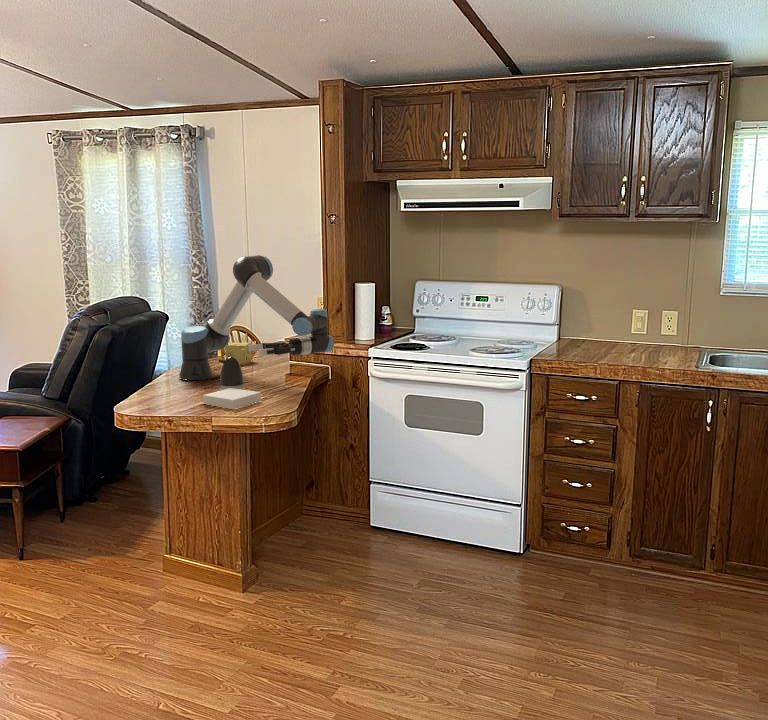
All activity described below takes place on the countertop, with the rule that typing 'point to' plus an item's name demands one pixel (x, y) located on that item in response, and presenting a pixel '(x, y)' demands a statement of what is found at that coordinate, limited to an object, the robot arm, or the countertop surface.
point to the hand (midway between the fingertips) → (253, 350)
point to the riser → (231, 398)
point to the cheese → (239, 352)
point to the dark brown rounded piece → (231, 374)
